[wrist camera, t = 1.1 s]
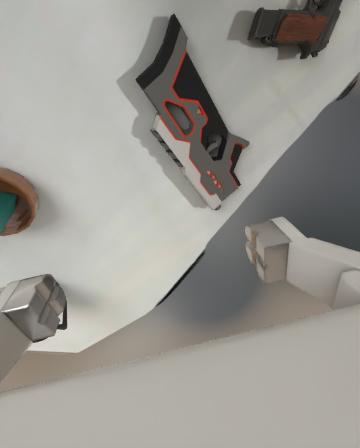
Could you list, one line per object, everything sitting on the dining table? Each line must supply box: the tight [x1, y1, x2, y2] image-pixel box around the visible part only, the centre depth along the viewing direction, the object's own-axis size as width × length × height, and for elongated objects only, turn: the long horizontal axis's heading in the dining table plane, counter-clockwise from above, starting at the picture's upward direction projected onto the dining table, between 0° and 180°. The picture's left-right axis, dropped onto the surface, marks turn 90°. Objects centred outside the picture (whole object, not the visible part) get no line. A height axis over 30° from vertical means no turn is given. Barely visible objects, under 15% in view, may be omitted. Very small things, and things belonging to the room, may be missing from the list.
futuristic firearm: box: [135, 14, 250, 210], centre depth 45 cm, size 3×35×15 cm
